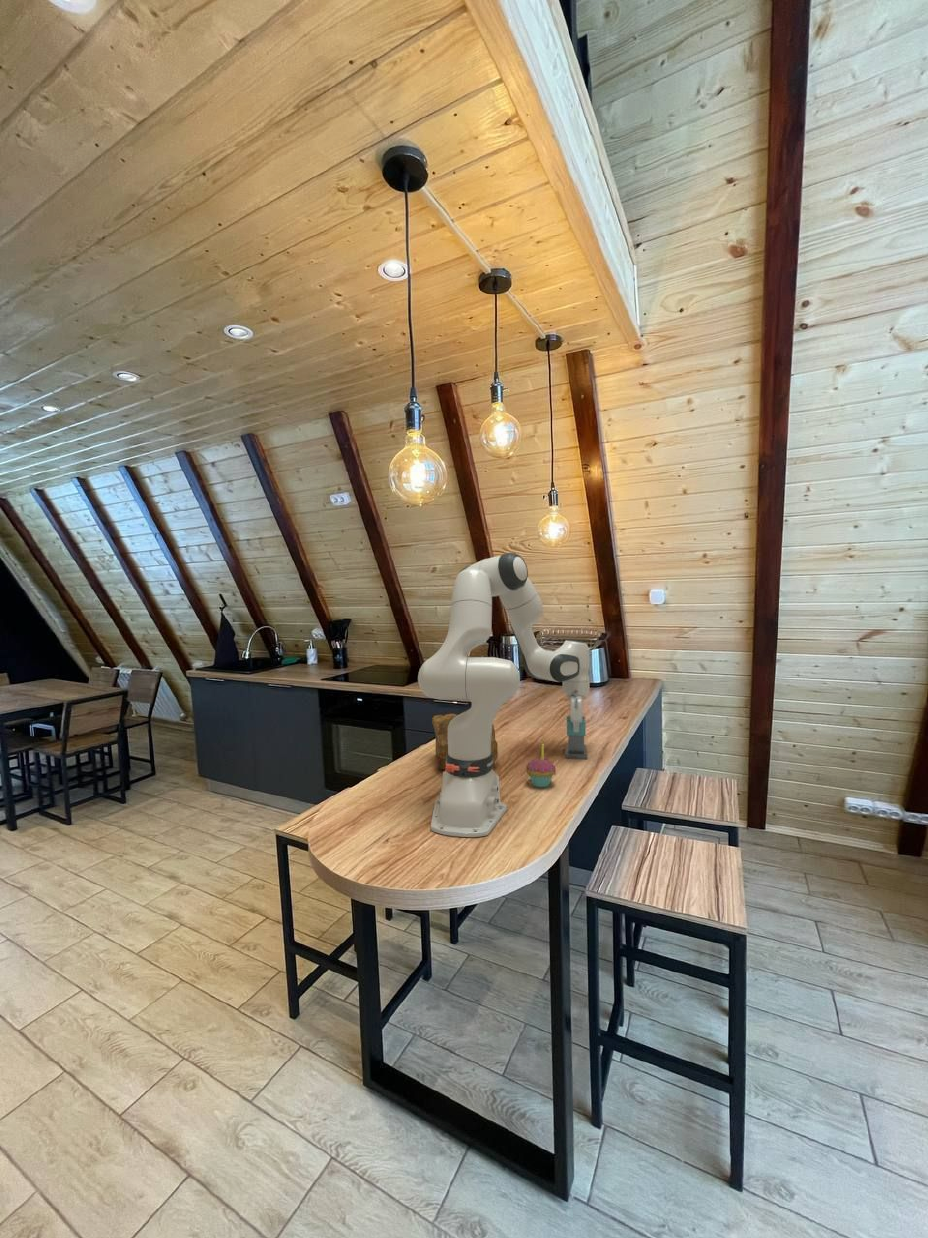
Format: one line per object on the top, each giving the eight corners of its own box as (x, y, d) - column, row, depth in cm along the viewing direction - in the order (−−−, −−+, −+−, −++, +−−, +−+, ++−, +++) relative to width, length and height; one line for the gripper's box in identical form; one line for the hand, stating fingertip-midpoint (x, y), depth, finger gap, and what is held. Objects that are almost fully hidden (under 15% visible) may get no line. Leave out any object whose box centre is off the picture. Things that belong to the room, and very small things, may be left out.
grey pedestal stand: (587, 759, 160) (587, 724, 159) (565, 758, 162) (565, 723, 161) (586, 746, 173) (586, 714, 172) (565, 745, 174) (565, 713, 173)
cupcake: (531, 776, 146) (531, 737, 145) (559, 781, 142) (559, 740, 142) (522, 787, 139) (521, 745, 138) (551, 792, 135) (551, 749, 134)
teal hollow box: (585, 736, 162) (585, 721, 161) (566, 735, 163) (566, 720, 163) (585, 731, 167) (585, 716, 167) (567, 730, 169) (567, 715, 168)
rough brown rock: (412, 769, 156) (410, 724, 153) (441, 750, 170) (440, 708, 167) (475, 786, 143) (474, 738, 141) (501, 764, 157) (500, 719, 155)
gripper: (586, 694, 153) (586, 738, 154) (584, 682, 173) (584, 720, 174) (566, 694, 155) (566, 737, 156) (566, 681, 175) (566, 720, 176)
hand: (576, 728), depth 165 cm, fingers closed on teal hollow box, 6 cm apart
